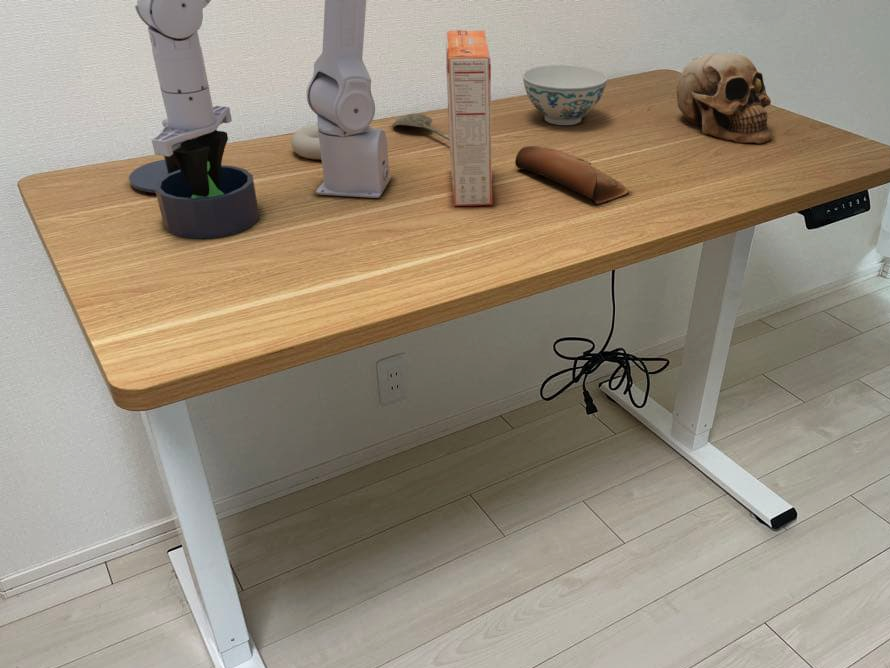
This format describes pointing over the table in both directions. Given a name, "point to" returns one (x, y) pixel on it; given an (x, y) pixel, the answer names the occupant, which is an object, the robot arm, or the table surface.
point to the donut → (307, 142)
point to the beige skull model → (725, 97)
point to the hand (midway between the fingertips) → (206, 190)
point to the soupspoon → (418, 123)
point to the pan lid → (151, 174)
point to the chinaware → (564, 91)
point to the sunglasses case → (570, 173)
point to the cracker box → (469, 116)
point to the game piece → (210, 187)
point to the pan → (208, 205)
